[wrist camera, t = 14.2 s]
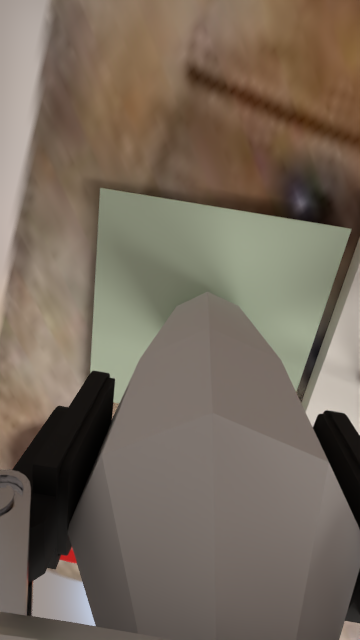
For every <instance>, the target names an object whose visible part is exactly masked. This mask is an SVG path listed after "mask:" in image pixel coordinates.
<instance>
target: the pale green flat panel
mask: <svg viewBox="0 0 360 640" xmlns="http://www.w3.org/2000/svg"><path fill="white" fill-rule="evenodd" d="M351 230H352V229H349V228H345V227H339V226H333V225H327V224H321V223H314V222H308V221H302V220H296V219H290V218H284V217H278V216H272V215H266V214H259V213H253V212H247V211H241V210H235V209H229V208H223V207H217V206H211V205H204V204H198V203H192V202H186V201H180V200H174V199H168V198H162V197H155V196H149V195H143V194H137V193H131V192H125V191H119V190H113V189H107V188H100V200H99V218H98V237H97V255H96V273H95V292H94V310H93V329H92V347H91V366H90V373H91V372H92V371H93V370H94V371H100V372H106V373H109V374H110V378H115V388H114V399H113V402H115V403H120V401H121V399H122V397H123V394H124V392H125V390H126V388H127V386H128V384H129V381H130V379H131V377H132V375H133V373H134V370H135V368H136V366H137V364H138V362H139V360H140V358H141V356H142V355H143V354H144V352H145V351H146V349H147V348H148V346H149V345H150V344H151V342H152V341H153V339H154V338H155V336H156V335H157V333H158V332H159V331H160V329H161V328H162V326H163V325H164V323H165V322H166V321H167V319H168V318H169V316H170V315H171V313H172V312H173V311H174V309H175V308H176V306H178V305H180V304H182V303H184V302H186V301H189V300H191V299H193V298H195V297H197V296H199V295H201V294H203V293H205V292H210V293H212V294H214V295H216V296H218V297H220V298H223V299H225V300H227V301H229V302H231V303H233V304H236V305H238V306H239V307H240V308H241V310H242V311H243V312H244V313H245V315H246V316H247V317H248V318H249V320H250V321H251V322H252V324H253V325H254V326H255V327H256V329H257V330H258V331H259V332H260V334H261V335H262V336H263V338H264V339H265V340H266V341H267V343H268V344H269V345H270V346H271V348H272V349H273V350H274V352H275V353H276V354H277V355H278V357H279V358H280V359H281V361H282V363H283V365H284V367H285V369H286V372H287V374H288V376H289V378H290V380H291V382H292V384H293V387H294V389H295V391H297V388H298V385H299V382H300V379H301V377H302V374H303V371H304V368H305V365H306V362H307V359H308V356H309V353H310V350H311V347H312V344H313V341H314V338H315V335H316V332H317V330H318V327H319V324H320V321H321V318H322V315H323V312H324V309H325V306H326V303H327V300H328V297H329V294H330V291H331V288H332V285H333V282H334V280H335V277H336V274H337V271H338V268H339V265H340V262H341V259H342V256H343V253H344V250H345V247H346V244H347V241H348V238H349V235H350V232H351Z"/></svg>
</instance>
